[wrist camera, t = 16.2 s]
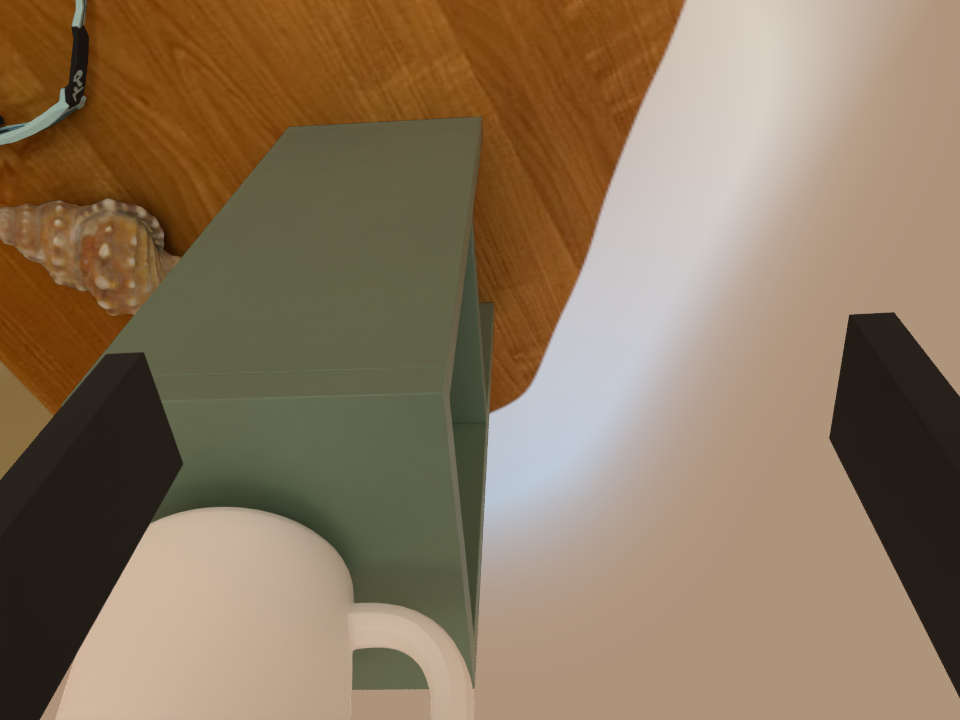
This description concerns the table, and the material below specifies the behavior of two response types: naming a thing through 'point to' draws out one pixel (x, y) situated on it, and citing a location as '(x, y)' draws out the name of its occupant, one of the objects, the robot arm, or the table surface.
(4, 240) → the seashell
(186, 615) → the mug
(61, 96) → the sunglasses
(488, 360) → the shelf
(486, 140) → the table surface
